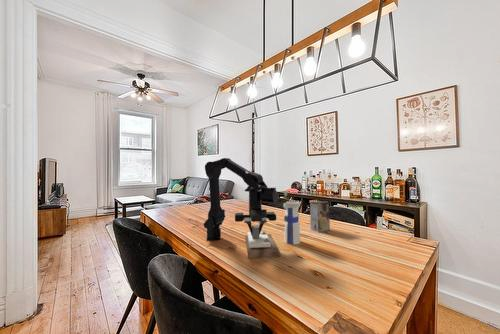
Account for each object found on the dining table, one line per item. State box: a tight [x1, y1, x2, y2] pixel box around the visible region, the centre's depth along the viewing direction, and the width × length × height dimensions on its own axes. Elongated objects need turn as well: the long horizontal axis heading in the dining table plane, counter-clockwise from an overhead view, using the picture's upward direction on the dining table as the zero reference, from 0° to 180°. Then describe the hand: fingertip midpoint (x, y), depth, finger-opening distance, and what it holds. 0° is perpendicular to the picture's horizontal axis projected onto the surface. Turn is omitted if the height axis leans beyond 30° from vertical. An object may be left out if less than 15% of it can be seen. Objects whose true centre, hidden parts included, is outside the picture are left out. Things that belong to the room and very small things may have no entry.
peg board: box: [244, 230, 281, 259], centre depth 99 cm, size 13×22×6 cm, turn 4°
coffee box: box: [309, 200, 331, 233], centre depth 123 cm, size 9×6×16 cm
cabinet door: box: [247, 224, 271, 248], centre depth 99 cm, size 9×16×6 cm, turn 4°
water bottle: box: [283, 190, 301, 246], centre depth 105 cm, size 8×9×25 cm
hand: (255, 235), depth 99 cm, fingers closed on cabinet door, 3 cm apart
